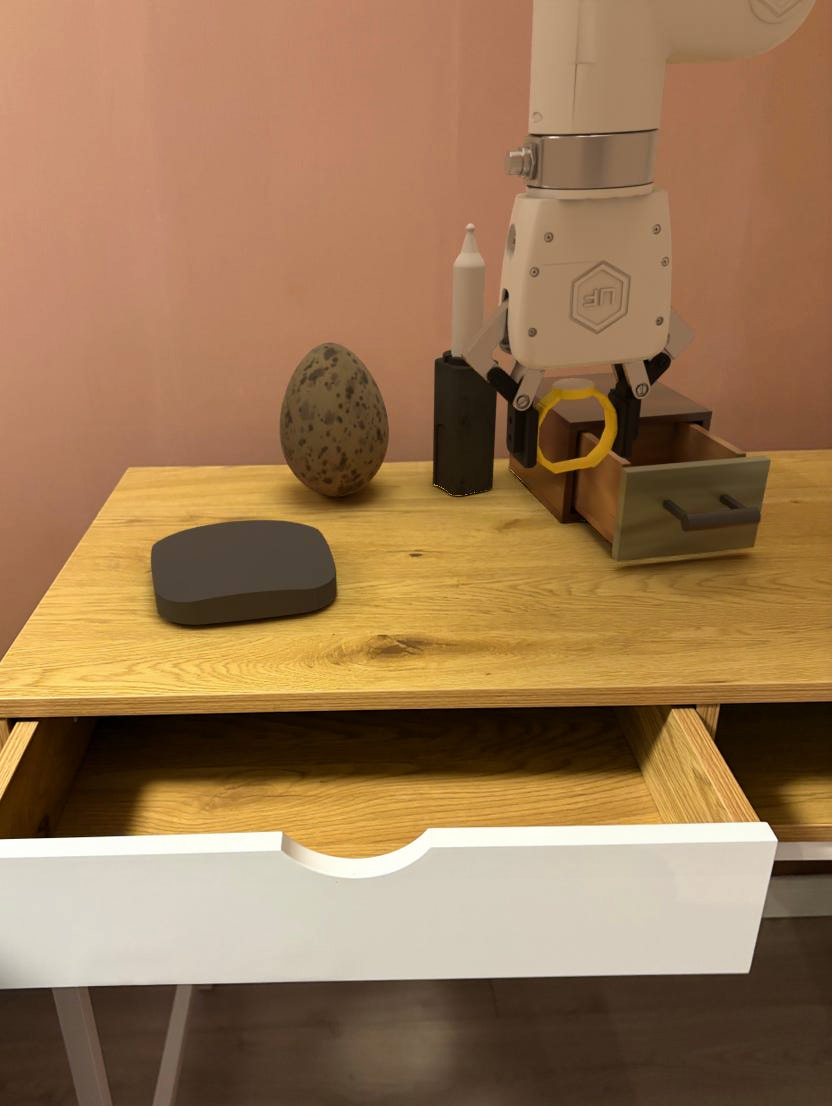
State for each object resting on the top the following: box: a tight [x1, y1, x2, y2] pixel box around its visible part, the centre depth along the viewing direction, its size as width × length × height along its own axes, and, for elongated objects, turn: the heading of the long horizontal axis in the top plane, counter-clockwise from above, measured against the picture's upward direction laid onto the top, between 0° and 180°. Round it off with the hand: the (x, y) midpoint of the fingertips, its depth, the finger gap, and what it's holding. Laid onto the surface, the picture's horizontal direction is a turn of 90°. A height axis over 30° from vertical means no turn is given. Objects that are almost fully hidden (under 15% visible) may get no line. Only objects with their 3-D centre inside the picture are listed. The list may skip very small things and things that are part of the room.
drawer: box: [571, 421, 772, 562], centre depth 84 cm, size 19×12×8 cm, turn 10°
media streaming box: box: [150, 519, 338, 626], centre depth 80 cm, size 15×15×3 cm
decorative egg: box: [279, 342, 390, 497], centre depth 95 cm, size 11×11×15 cm
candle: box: [432, 223, 499, 495], centre depth 94 cm, size 5×5×25 cm
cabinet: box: [508, 371, 713, 524], centre depth 96 cm, size 16×14×10 cm
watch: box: [535, 378, 618, 474], centre depth 66 cm, size 6×3×6 cm, turn 101°
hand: (570, 454), depth 67 cm, fingers closed on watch, 6 cm apart
